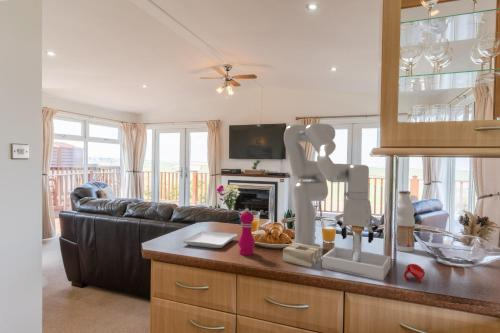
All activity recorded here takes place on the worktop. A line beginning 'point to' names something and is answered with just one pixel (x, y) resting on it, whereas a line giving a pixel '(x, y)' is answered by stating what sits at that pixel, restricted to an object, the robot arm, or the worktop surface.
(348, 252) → the tray
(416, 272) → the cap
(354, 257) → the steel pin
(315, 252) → the pin block
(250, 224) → the pepper mill
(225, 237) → the salad plate
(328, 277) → the worktop surface
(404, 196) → the fruit juice
